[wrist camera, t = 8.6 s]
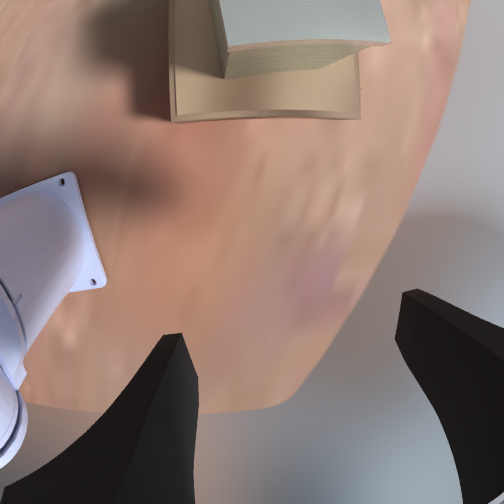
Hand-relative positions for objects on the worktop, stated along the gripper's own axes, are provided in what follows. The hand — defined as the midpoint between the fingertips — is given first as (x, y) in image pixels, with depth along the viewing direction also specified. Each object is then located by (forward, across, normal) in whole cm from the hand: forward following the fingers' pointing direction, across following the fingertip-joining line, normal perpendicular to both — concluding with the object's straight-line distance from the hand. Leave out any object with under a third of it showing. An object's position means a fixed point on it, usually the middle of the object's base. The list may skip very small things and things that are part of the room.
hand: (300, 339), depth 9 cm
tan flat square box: (+11, -1, -11) cm, 16 cm away
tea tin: (+7, -1, -11) cm, 13 cm away
